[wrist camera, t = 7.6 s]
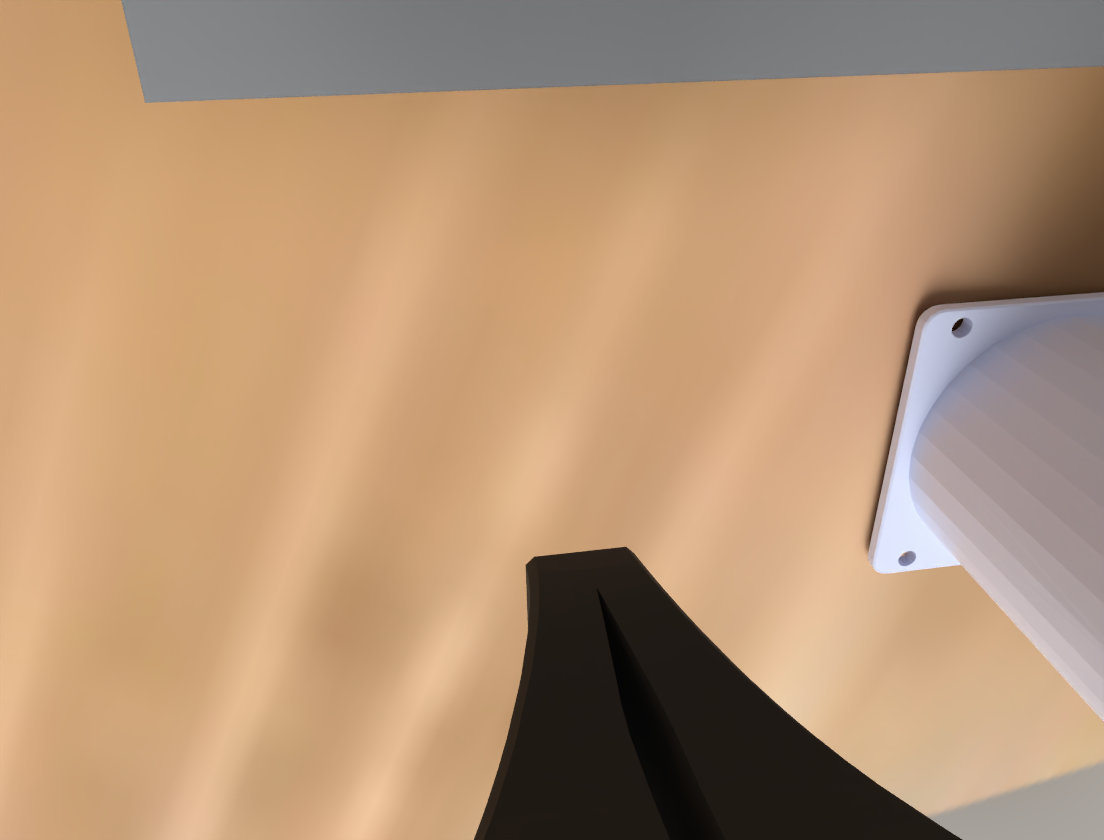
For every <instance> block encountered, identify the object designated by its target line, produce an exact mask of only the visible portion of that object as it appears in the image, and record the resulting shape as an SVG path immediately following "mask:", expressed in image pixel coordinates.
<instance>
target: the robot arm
mask: <svg viewBox="0 0 1104 840" xmlns="http://www.w3.org/2000/svg"><path fill="white" fill-rule="evenodd" d="M962 318H963V322H962V324H961V326H960V327H959V328H958V329H957V330H954V331H952V327H953V325H954V323H956V322H957V321H958V320H959V319H962ZM907 551H908V552H907ZM904 552H907V553H906V554H905V555H904V556H901V555H902V554H903V553H904ZM900 556H901V557H900ZM868 561H869V562H870V564H871V565H872V567H873V568H874V569H875V570H876V571H877V572H879V573H895V572H903V571H912V570H920V569H929V568H937V567H946V566H954V565H962V566H963V567H964V568H965V569H966V571H967V572H968V573H969V574H970V575H971V576H972V577H973V578H974V579H975V581H976V582H977V583H978V584H979V585H980V586H981V587H982V588H983V589H984V590H985V592H986V593H987V594H988V595H989V596H990V597H991V598H992V599H993V600H994V601H995V603H996V604H997V605H998V606H999V607H1000V608H1001V609H1002V610H1003V611H1004V612H1005V614H1006V615H1007V616H1008V617H1009V618H1010V619H1011V620H1012V621H1013V622H1014V624H1015V625H1016V626H1017V627H1018V628H1019V629H1020V630H1021V631H1022V632H1023V633H1024V635H1025V636H1026V637H1027V638H1028V639H1029V640H1030V641H1031V642H1032V643H1033V644H1034V646H1035V647H1036V648H1037V649H1038V650H1039V651H1040V652H1041V653H1042V654H1043V655H1044V657H1045V658H1046V659H1047V660H1048V661H1049V662H1050V663H1051V664H1052V665H1053V667H1054V668H1055V669H1056V670H1057V671H1058V672H1059V673H1060V674H1061V675H1062V676H1063V678H1064V679H1065V680H1066V681H1067V682H1068V683H1069V684H1070V685H1071V686H1072V687H1073V689H1074V690H1075V691H1076V692H1077V693H1078V694H1079V695H1080V696H1081V697H1082V698H1083V700H1084V701H1085V702H1086V703H1087V704H1088V705H1089V706H1090V707H1091V708H1092V710H1093V711H1094V712H1095V713H1096V714H1097V715H1098V716H1099V717H1100V718H1101V719H1102V721H1103V722H1104V292H1099V293H1086V294H1073V295H1059V296H1046V297H1033V298H1020V299H1006V300H993V301H980V302H967V303H953V304H940V305H936V306H932V307H930V308H929V309H927V310H926V311H924V312H923V314H922V315H921V316H920V317H919V319H918V321H917V324H916V327H915V332H914V337H913V342H912V346H911V351H910V356H909V361H908V366H907V370H906V375H905V380H904V385H903V389H902V394H901V399H900V404H899V409H898V413H897V418H896V423H895V428H894V432H893V437H892V442H891V447H890V452H889V456H888V461H887V466H886V471H885V475H884V480H883V485H882V490H881V495H880V499H879V504H878V509H877V514H876V518H875V523H874V528H873V533H872V538H871V542H870V547H869V552H868ZM526 585H527V612H528V635H527V642H526V648H525V655H524V662H523V668H522V675H521V680H520V685H519V689H518V694H517V698H516V702H515V706H514V711H513V715H512V719H511V723H510V728H509V732H508V736H507V740H506V743H505V747H504V750H503V754H502V758H501V761H500V764H499V768H498V771H497V774H496V778H495V781H494V784H493V787H492V790H491V793H490V796H489V799H488V802H487V805H486V808H485V811H484V814H483V817H482V819H481V822H480V825H479V827H478V830H477V833H476V835H475V838H474V840H962V839H960V838H959V837H957V836H956V835H954V834H952V833H951V832H949V831H947V830H946V829H945V828H943V827H942V826H940V825H938V824H937V823H935V822H934V821H933V820H931V819H930V818H928V817H927V816H925V815H924V814H922V813H921V812H919V811H917V810H916V809H914V808H913V807H911V806H910V805H908V804H907V803H905V802H904V801H902V800H901V799H899V798H898V797H896V796H895V795H893V794H892V793H890V792H889V791H887V790H886V789H884V788H883V787H881V786H880V785H878V784H877V783H876V782H874V781H873V780H872V779H870V778H869V777H868V776H866V775H865V774H863V773H862V772H861V771H859V770H858V769H857V768H855V767H854V766H853V765H851V764H850V763H848V762H847V761H846V760H845V759H843V758H842V757H841V756H839V755H838V754H837V753H836V752H834V751H833V750H832V749H831V748H829V747H828V746H827V745H825V744H824V743H823V742H822V741H820V740H819V739H818V738H817V737H815V736H814V735H813V734H812V733H810V732H809V731H808V730H807V729H806V728H804V727H803V726H802V725H801V724H800V723H798V722H797V721H796V720H795V719H794V718H793V717H791V716H790V715H789V714H788V713H787V712H786V711H785V710H783V709H782V708H781V707H780V706H779V705H778V704H777V703H775V702H774V701H773V700H772V699H771V698H770V697H769V696H768V695H767V694H766V693H765V692H763V691H762V690H761V689H760V688H759V687H758V686H757V685H756V684H755V683H754V682H752V681H751V680H750V679H749V678H748V677H747V676H746V675H745V674H744V673H743V672H742V671H741V670H740V669H739V668H738V667H737V666H736V665H735V664H734V663H733V662H732V661H731V660H730V659H729V658H728V657H727V656H726V655H725V654H724V653H723V652H722V651H721V650H720V649H719V648H718V647H717V646H716V645H715V644H714V643H713V642H712V641H711V640H710V639H709V638H708V637H707V636H706V635H705V634H704V633H703V632H702V631H701V630H700V629H699V628H698V627H697V626H696V624H695V623H694V622H693V621H692V620H691V619H690V618H689V617H688V616H687V615H686V614H685V613H684V611H683V610H682V609H681V608H680V607H679V606H678V605H677V604H676V602H675V601H674V600H673V599H672V598H671V597H670V596H669V595H668V593H667V592H666V591H665V590H664V589H663V588H662V587H661V585H660V584H659V583H658V582H657V581H656V579H655V578H654V577H653V576H652V575H651V574H650V572H649V571H648V570H647V569H646V567H645V566H644V565H643V564H642V563H641V561H640V560H639V559H638V558H637V556H636V555H635V554H634V553H633V552H632V551H631V550H629V549H628V548H627V547H620V548H611V549H602V550H593V551H584V552H575V553H566V554H556V555H547V556H538V557H534V558H533V559H532V560H531V561H529V562H528V563H527V564H526Z"/></svg>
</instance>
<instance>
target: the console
mask: <svg viewBox="0 0 1104 840" xmlns="http://www.w3.org/2000/svg"><path fill="white" fill-rule="evenodd" d="M121 1H122V5H123V9H124V14H125V18H126V22H127V27H128V31H129V35H130V39H131V44H132V48H133V52H134V57H135V61H136V65H137V69H138V74H139V78H140V82H141V87H142V91H143V95H144V99H145V103H150V102H176V101H203V100H229V99H255V98H282V97H308V96H334V95H361V94H387V93H413V92H439V91H466V90H492V89H518V88H545V87H571V86H597V85H624V84H650V83H676V82H703V81H729V80H755V79H782V78H808V77H834V76H861V75H887V74H913V73H939V72H966V71H992V70H1018V69H1045V68H1071V67H1097V66H1104V0H121Z"/></svg>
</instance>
